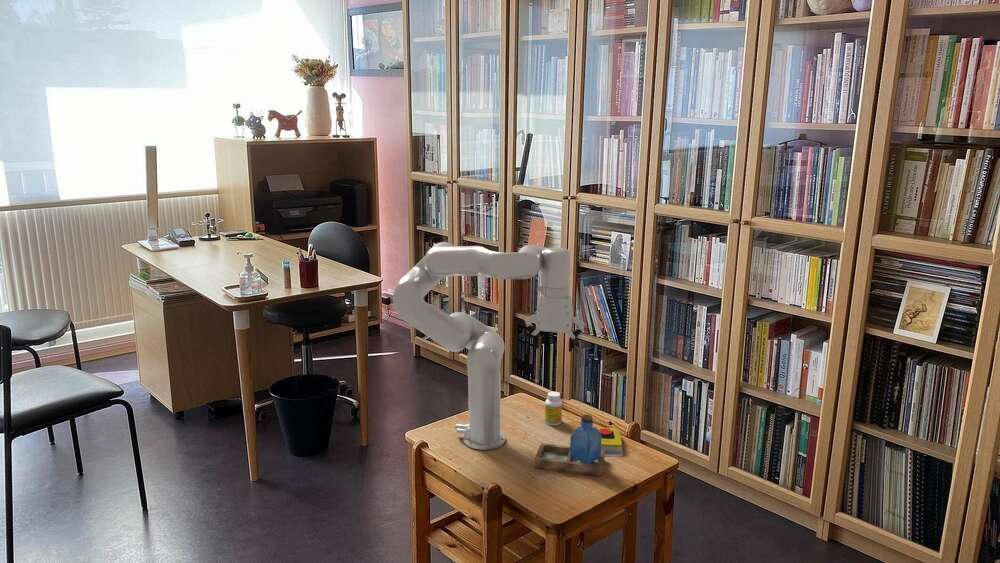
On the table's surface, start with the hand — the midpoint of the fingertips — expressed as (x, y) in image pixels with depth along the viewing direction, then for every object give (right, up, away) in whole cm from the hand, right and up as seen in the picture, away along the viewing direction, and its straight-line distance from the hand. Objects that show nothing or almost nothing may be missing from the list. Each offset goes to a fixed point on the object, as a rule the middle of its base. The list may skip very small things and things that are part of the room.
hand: (553, 349), depth 207 cm
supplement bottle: (+2, -26, +23) cm, 34 cm away
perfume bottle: (+8, -30, -5) cm, 31 cm away
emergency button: (+16, -30, +9) cm, 35 cm away
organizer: (+4, -32, -4) cm, 33 cm away
